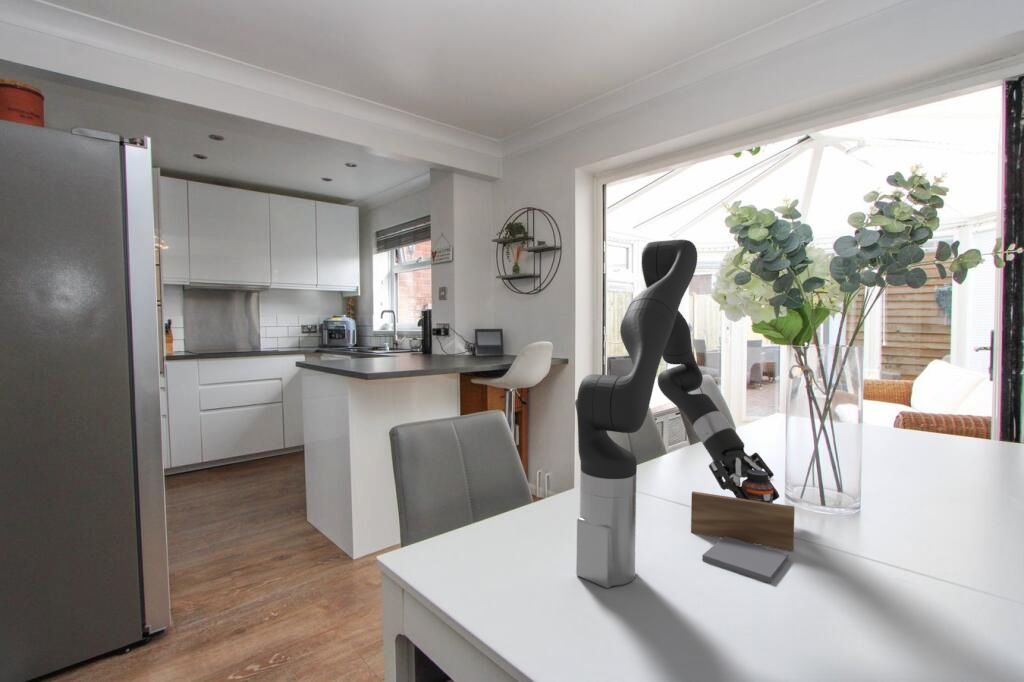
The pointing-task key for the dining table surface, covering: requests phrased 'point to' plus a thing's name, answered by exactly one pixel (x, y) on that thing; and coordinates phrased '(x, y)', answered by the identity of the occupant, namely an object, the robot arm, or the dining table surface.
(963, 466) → the dining table surface
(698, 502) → the walnut screen
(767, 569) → the charcoal pad
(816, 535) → the dining table surface
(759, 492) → the supplement bottle
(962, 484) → the dining table surface
